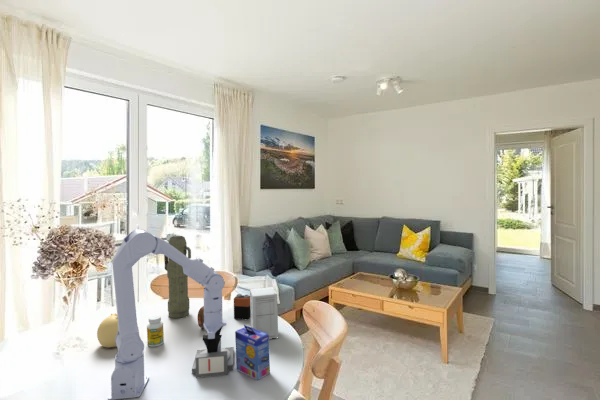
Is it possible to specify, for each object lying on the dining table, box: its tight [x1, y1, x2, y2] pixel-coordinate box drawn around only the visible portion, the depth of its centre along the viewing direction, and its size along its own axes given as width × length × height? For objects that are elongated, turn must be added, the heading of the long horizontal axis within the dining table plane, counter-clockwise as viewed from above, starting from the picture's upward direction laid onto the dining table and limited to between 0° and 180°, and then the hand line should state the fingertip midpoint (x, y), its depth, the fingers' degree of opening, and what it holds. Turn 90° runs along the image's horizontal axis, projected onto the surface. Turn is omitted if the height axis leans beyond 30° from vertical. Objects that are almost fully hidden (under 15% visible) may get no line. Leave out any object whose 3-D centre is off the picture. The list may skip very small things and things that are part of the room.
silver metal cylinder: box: [207, 338, 222, 353], centre depth 107 cm, size 4×4×5 cm
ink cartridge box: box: [234, 324, 271, 381], centre depth 101 cm, size 10×6×14 cm, turn 51°
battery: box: [233, 293, 251, 321], centre depth 144 cm, size 4×7×10 cm, turn 80°
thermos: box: [163, 235, 192, 320], centre depth 147 cm, size 9×12×35 cm
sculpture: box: [96, 313, 118, 348], centre depth 121 cm, size 12×12×11 cm
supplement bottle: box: [146, 315, 165, 348], centre depth 120 cm, size 5×5×10 cm
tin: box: [197, 305, 205, 329], centre depth 138 cm, size 15×3×8 cm, turn 170°
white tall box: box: [249, 286, 279, 340], centre depth 127 cm, size 10×9×17 cm
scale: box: [191, 346, 235, 379], centre depth 106 cm, size 15×12×6 cm
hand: (213, 351), depth 107 cm, fingers open, 7 cm apart
